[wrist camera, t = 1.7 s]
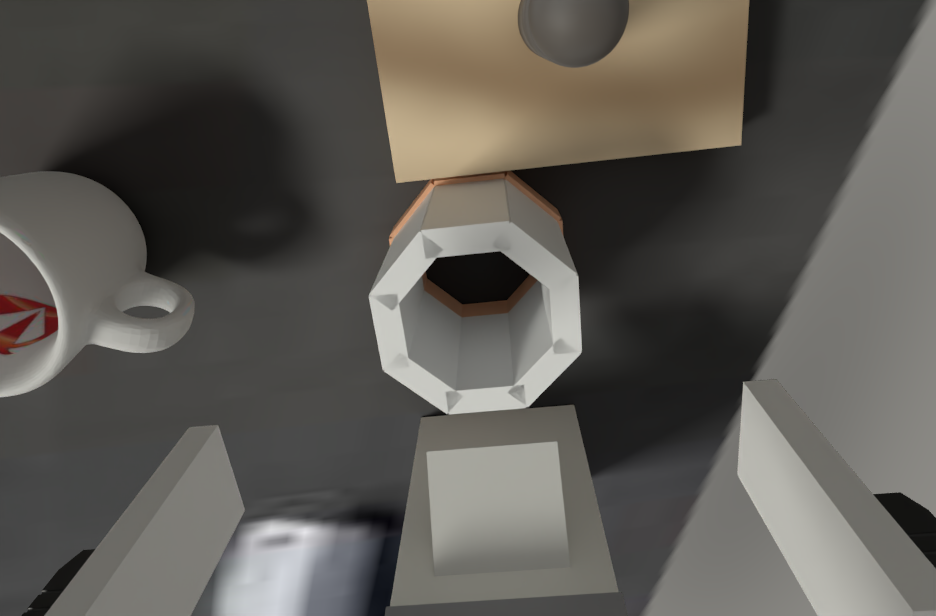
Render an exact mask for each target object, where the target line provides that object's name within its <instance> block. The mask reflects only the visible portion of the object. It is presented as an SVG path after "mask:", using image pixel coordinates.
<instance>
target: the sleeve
mask: <svg viewBox="0 0 936 616" xmlns="http://www.w3.org/2000/svg"><path fill="white" fill-rule="evenodd" d="M389 242H390V248H389V250H388V253H387V255H386V257H385V259H384V262H383V264H382V266H381V269H380V271H379V273H378V275H377V278H376V280H375V282H374V285H373V287H372V289H371V291H370V294H369V301H370V306H371V311H372V317H373V322H374V327H375V332H376V337H377V343H378V348H379V353H380V358H381V363H382V369H383V370H384V372H386V373H387V374H389V375H390V376H392V377H393V378H395V379H396V380H398V381H399V382H400V383H402V384H403V385H405V386H406V387H408V388H409V389H411V390H412V391H414V392H415V393H417V394H418V395H420V396H421V397H423V398H424V399H425V400H427V401H428V402H430V403H431V404H433V405H434V406H436V407H437V408H439V409H440V410H442V411H443V412H445V413H446V414H447V413H449V415H450V414H462V413H474V412H486V411H498V410H510V409H522V408H526V406H527V407H529V406H530V405H531V404H532V403H533V402H534V401H535V400H536V399H537V398H538V397H539V396H540V395H541V394H542V393H543V392H544V391H545V390H546V389H547V388H548V387H549V386H550V385H551V384H552V383H553V382H554V380H555V379H556V378H557V377H558V376H559V375H560V374H561V373H562V372H563V371H564V370H565V369H566V368H567V367H568V366H569V365H570V364H571V363H572V362H573V361H574V360H575V359H576V358H577V357H578V356H579V355H580V354H581V352H582V342H581V321H580V301H579V280H578V274H577V271H576V268H575V266H574V263H573V261H572V258H571V255H570V253H569V250H568V247H567V245H566V242H565V240H564V237H563V221H562V218H561V216H560V213H559V212H558V209H557V208H555V207H554V206H553V205H552V204H551V203H549V202H548V201H547V200H546V199H544V198H543V197H542V196H541V195H540V194H538V193H537V192H536V191H535V190H533V189H532V188H531V187H530V186H529V185H527V184H526V183H525V182H524V181H522V180H521V179H520V178H519V177H518V176H516V175H515V174H514V173H513V172H511V171H501V172H492V173H483V174H474V175H464V176H455V177H446V178H437V179H430V181H429V182H428V183H427V184H426V186H425V187H424V188H423V190H422V191H421V192H420V193H419V195H418V196H417V197H416V199H415V200H414V201H413V203H412V204H411V205H410V206H409V208H408V209H407V210H406V212H405V213H404V214H403V215H402V217H401V218H400V219H399V221H398V222H397V223H396V224H395V226H394V228H393V230H392V232H391V234H390V237H389ZM497 251H501V252H502V253H503V254H505V255H506V256H507V257H509V258H510V259H511V260H513V261H514V262H515V263H516V264H518V265H519V266H520V267H522V268H523V269H524V270H525V271H527V272H528V273H529V274H530V275H529V276H528V277H527V278H526V279H525V281H524V282H523V283H522V284H521V285H520V286H519V287H518V288H517V289H516V291H515V292H514V293H513V294H512V295H511V296H510V297H509V298H508V299H507V300H505V301H494V302H484V303H473V304H461V303H460V302H459V301H457V300H456V299H454V298H453V297H452V296H450V295H449V294H448V293H446V292H445V291H444V290H442V289H441V288H440V287H438V286H437V285H435V284H434V283H433V282H431V281H430V280H429V279H427V275H426V270H427V269H428V268H429V266H430V265H431V264H432V263H433V261H434V260H435V259H436V258H438V257H448V256H457V255H467V254H477V253H487V252H497Z"/></svg>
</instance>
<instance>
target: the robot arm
mask: <svg viewBox="0 0 936 616" xmlns="http://www.w3.org/2000/svg"><path fill="white" fill-rule="evenodd" d="M737 475H738V477H739V479H740V480H741V482H742V484H743V486H744V487H745V489H746V491H747V493H748V494H749V496H750V498H751V500H752V501H753V503H754V505H755V507H756V508H757V510H758V512H759V514H760V515H761V517H762V519H763V521H764V522H765V524H766V526H767V528H768V529H769V531H770V533H771V534H772V536H773V538H774V540H775V542H776V543H777V545H778V547H779V549H780V550H781V552H782V554H783V555H784V557H785V559H786V561H787V563H788V564H789V566H790V568H791V570H792V571H793V573H794V575H795V577H796V578H797V580H798V582H799V584H800V586H801V587H802V589H803V591H804V592H805V594H806V596H807V598H808V600H809V601H810V603H811V605H812V607H813V608H814V610H815V612H816V614H817V615H818V616H936V518H935V517H934V516H933V515H932V514H931V512H930V511H929V510H927V509H926V508H924V507H923V506H921V505H920V504H918V503H916V502H915V501H913V500H911V499H910V498H908V497H907V496H905V495H903V494H902V493H886V494H872V492H871V491H870V490H869V489H868V488H867V487H866V485H865V484H864V483H863V482H862V481H861V480H860V478H859V477H858V476H857V475H856V473H855V472H854V471H853V470H852V469H851V468H850V467H849V465H848V464H847V463H846V462H845V460H844V459H843V458H842V457H841V456H840V455H839V453H838V452H837V451H836V450H835V449H834V447H833V446H832V445H831V444H830V443H829V442H828V440H827V439H826V438H825V437H824V436H823V434H822V433H821V432H820V431H819V430H818V429H817V427H816V426H815V425H814V424H813V422H812V421H811V420H810V419H809V418H808V417H807V415H806V414H805V413H804V412H803V411H802V409H801V408H800V407H799V406H798V405H797V404H796V402H795V401H794V400H793V399H792V398H791V397H790V395H789V394H788V393H787V392H786V390H785V389H784V388H783V387H782V386H781V385H780V384H779V382H778V381H777V380H776V379H772V380H759V381H747V382H743V394H742V409H741V426H740V441H739V457H738V473H737ZM244 511H245V509H244V506H243V502H242V499H241V496H240V493H239V490H238V487H237V483H236V480H235V477H234V474H233V471H232V468H231V464H230V461H229V458H228V455H227V452H226V449H225V445H224V442H223V439H222V436H221V433H220V430H219V426H218V425H212V426H200V427H189V428H188V430H187V431H186V432H185V434H184V435H183V436H182V437H181V439H180V440H179V441H178V443H177V444H176V445H175V447H174V448H173V449H172V450H171V452H170V453H169V454H168V456H167V457H166V458H165V460H164V461H163V462H162V463H161V465H160V466H159V467H158V469H157V470H156V471H155V473H154V474H153V475H152V476H151V478H150V479H149V480H148V482H147V483H146V484H145V486H144V487H143V488H142V489H141V491H140V492H139V493H138V495H137V496H136V497H135V499H134V500H133V501H132V502H131V504H130V505H129V506H128V508H127V509H126V510H125V512H124V513H123V514H122V515H121V517H120V518H119V519H118V521H117V522H116V523H115V525H114V526H113V527H112V528H111V530H110V531H109V532H108V534H107V535H106V536H105V538H104V539H103V540H102V541H101V543H100V544H99V545H98V547H97V548H96V549H93V550H83V551H82V552H80V553H79V554H78V555H77V556H75V557H74V558H73V559H72V560H70V561H69V562H68V563H67V564H65V565H64V566H63V567H62V568H60V569H59V570H58V571H57V573H56V574H55V575H54V576H53V578H52V579H51V580H50V581H49V583H48V584H47V585H46V586H45V588H44V589H43V590H42V594H41V595H38V596H37V597H36V599H35V600H34V601H33V602H32V604H31V605H30V606H29V607H28V612H27V613H23V615H22V616H191V614H192V612H193V610H194V608H195V606H196V604H197V602H198V600H199V598H200V596H201V594H202V592H203V590H204V589H205V587H206V585H207V583H208V581H209V579H210V577H211V575H212V573H213V571H214V569H215V567H216V565H217V563H218V561H219V560H220V558H221V556H222V554H223V552H224V550H225V548H226V546H227V544H228V542H229V540H230V538H231V536H232V534H233V532H234V530H235V529H236V527H237V525H238V523H239V521H240V519H241V517H242V515H243V513H244Z"/></svg>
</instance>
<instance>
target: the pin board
mask: <svg viewBox="0 0 936 616" xmlns="http://www.w3.org/2000/svg"><path fill="white" fill-rule="evenodd" d="M367 3H368V10H369V16H370V22H371V28H372V35H373V41H374V47H375V53H376V59H377V66H378V72H379V78H380V84H381V91H382V97H383V103H384V109H385V116H386V122H387V128H388V134H389V140H390V147H391V153H392V159H393V165H394V172H395V178H396V183H401V182H410V181H419V180H428V179H437V178H446V177H455V176H464V175H474V174H483V173H492V172H501V171H510V170H519V169H528V168H538V167H547V166H556V165H565V164H574V163H583V162H592V161H601V160H611V159H620V158H629V157H638V156H647V155H656V154H665V153H675V152H684V151H693V150H702V149H711V148H720V147H729V146H738V145H741V137H742V120H743V102H744V84H745V67H746V49H747V32H748V14H749V0H367Z"/></svg>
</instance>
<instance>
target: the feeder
mask: <svg viewBox="0 0 936 616" xmlns="http://www.w3.org/2000/svg"><path fill="white" fill-rule="evenodd" d="M385 616H628V614H627V610H626V606H625V602H624V598H623V594H622V592H618V587H617V583H616V579H615V575H614V571H613V566H612V562H611V558H610V554H609V550H608V545H607V541H606V537H605V533H604V529H603V524H602V520H601V516H600V512H599V508H598V503H597V499H596V495H595V491H594V487H593V482H592V478H591V474H590V470H589V466H588V461H587V457H586V453H585V449H584V445H583V440H582V436H581V432H580V428H579V424H578V419H577V415H576V411H575V407H574V405H564V406H552V407H540V408H528V409H516V410H504V411H492V412H480V413H468V414H456V415H444V416H432V417H421V421H420V427H419V433H418V440H417V446H416V452H415V458H414V464H413V470H412V476H411V482H410V488H409V494H408V500H407V506H406V512H405V518H404V524H403V530H402V537H401V543H400V549H399V555H398V561H397V567H396V573H395V579H394V585H393V591H392V597H391V603H390V607H386V612H385Z"/></svg>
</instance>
